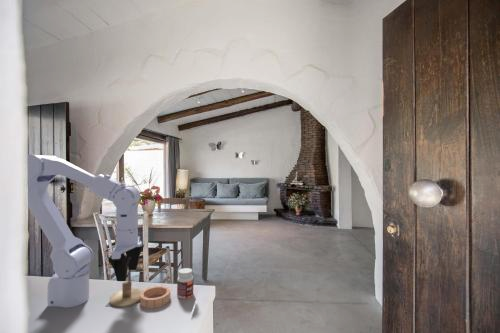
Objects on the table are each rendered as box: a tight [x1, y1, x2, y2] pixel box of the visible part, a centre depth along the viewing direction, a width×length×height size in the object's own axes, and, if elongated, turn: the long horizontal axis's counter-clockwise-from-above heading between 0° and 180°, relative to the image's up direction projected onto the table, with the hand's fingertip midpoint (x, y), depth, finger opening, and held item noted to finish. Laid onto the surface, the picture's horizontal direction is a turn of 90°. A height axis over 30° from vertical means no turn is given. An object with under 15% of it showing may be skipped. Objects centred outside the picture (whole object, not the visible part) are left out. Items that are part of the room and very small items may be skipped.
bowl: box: [139, 285, 171, 309], centre depth 77 cm, size 8×8×3 cm
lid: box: [109, 280, 143, 308], centre depth 78 cm, size 9×9×5 cm
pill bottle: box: [176, 267, 195, 300], centre depth 80 cm, size 5×5×8 cm
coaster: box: [105, 301, 140, 307], centre depth 78 cm, size 8×8×1 cm
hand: (127, 274), depth 78 cm, fingers open, 7 cm apart
